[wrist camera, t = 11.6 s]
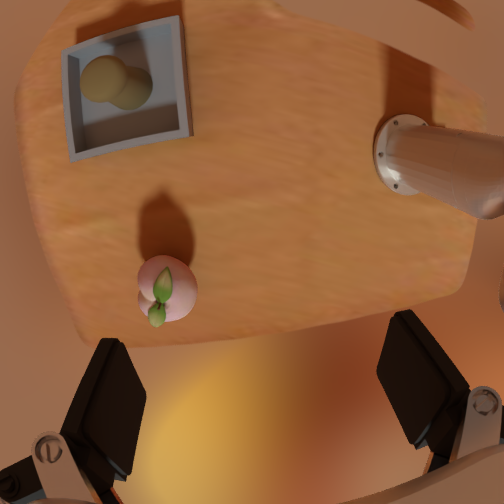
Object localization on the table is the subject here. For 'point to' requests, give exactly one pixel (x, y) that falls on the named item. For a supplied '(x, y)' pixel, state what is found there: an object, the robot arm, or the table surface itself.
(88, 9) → the table surface
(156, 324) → the decorative fruit
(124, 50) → the box
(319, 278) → the table surface
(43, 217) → the table surface
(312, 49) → the table surface
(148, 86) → the cork
